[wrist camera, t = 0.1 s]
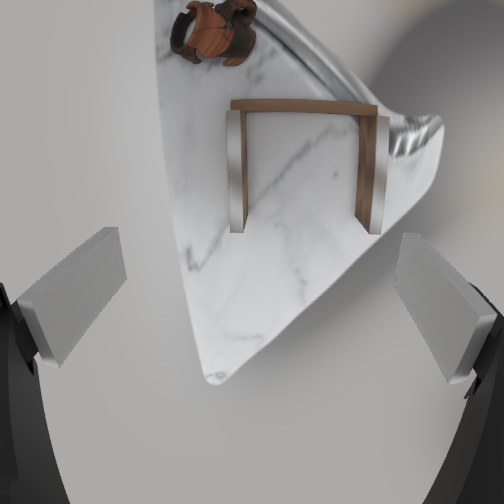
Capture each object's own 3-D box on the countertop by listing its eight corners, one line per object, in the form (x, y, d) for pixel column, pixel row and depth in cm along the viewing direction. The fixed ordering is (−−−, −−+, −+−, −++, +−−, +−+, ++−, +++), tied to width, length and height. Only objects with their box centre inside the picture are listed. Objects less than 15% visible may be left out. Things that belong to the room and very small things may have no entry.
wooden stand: (233, 101, 37) (225, 97, 30) (370, 106, 36) (389, 104, 29) (237, 214, 43) (230, 232, 36) (364, 216, 42) (380, 234, 35)
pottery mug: (225, 84, 37) (170, 74, 31) (212, 40, 38) (162, 28, 32) (287, 29, 28) (229, 4, 22) (264, -13, 29) (211, -35, 23)
